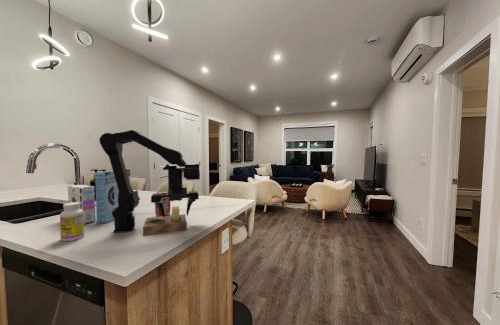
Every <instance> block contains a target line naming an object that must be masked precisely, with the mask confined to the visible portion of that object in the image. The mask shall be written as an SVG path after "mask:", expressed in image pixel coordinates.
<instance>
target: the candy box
mask: <svg viewBox="0 0 500 325" xmlns="http://www.w3.org/2000/svg"><path fill="white" fill-rule="evenodd" d="M67 194H68V203H73V202H79V203H80V207H79V209H81V210H83V218H84V225H86V224H91V223H94V222H97V218H96V185H95V186H93V185H86V184H74V185H68V186H67Z"/></svg>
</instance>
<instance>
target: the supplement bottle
mask: <svg viewBox="0 0 500 325" xmlns="http://www.w3.org/2000/svg"><path fill="white" fill-rule="evenodd" d="M62 207H63V211H61V213H60V214H59V221H60V222H59V227H60V229H59V231H60V240H61V241H63V242H72V241H76V240H79V239H81V238H83V237H84V235H85V227H84V226H85V224H84V218H83V210H81V209H79V207H80V203H79V202H73V203H69V202H67V203H63V205H62Z"/></svg>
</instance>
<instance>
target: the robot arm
mask: <svg viewBox="0 0 500 325" xmlns="http://www.w3.org/2000/svg"><path fill="white" fill-rule="evenodd" d="M131 142H135V143H137V144H139V145H140V146H142V147H145V149H148V150H150V151H152V152H154V153H156V154H158V155H159V156H160V157H161V158H162V159H163V160H165V161H166V162H168V163H169V164H168V163H166V164H165V166H164V167H163V168H162V170H163V171H167V179H168V181H167V182H168V183H167V184H168V185H167V186H168V190H167V191H168V195H162V193H156V192H155V193H153V194H152V195H151V196H150V203H151V204H152V203H154V205H155V204H157V205H158V206H159V207H160V209H161V212H162V214H163V217H164V218H165V211H164V204H163V200H164V199H169V200H170V202H174V201H178V202H179V201H182V200H183V199H187V201H186V202H187V203H186V217H187V216H189V212H190V209H191V207H192V204H193V203H194V202H196V200H199V199H200V198H199V197H200V196H199V193H198V191H196V190H193V191H191V190H190V191H188V187H183V178H184V179H185V180H186V181H195V180H198V181H199V180H201V171H200V164H199V163H195V164H187V162H186V161H185V160H184V159H183V158H184V157H183V154H182V152H180V151H178V150H176V149H172V148H170V147H166V146H164V145H162V144H160V143H158V142H156V141H154V140H152V139H151V138H149V137H147V136H145V135H143V134H142V133H139V132H138V131H136V130H134V129H130V130H126V131H120V132H114V133H109V132H106V133H103V134H101V135H100V137H99V143H100V145H101V148H102V150H103V151H104V152H105V154H106V155H107V156H108V158H109V163H110V166H111V169H112V171H113V173H114V176H115V180H116V183H117V187H118V190H119V193H118V207H117V208H116V209H115V210H114V211H113V212H112V215H113V217H114V218H115V219H114V230H113V233H121V232H130V231H133V229H134V228H135V226H136V216H134V211H135V209H136V208H137V207H138V206H139V204H140V201H141V198H140V196H139V191H138V190H134V189H133V188H132V186H131V185H132V184H131V181H130V182H129V178H128V175H127V171H126V170H127V169H126V164H125V161H124V158H123V149H124V148H123V145H124V144H128V143H131ZM130 184H131V185H130Z"/></svg>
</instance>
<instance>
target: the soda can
mask: <svg viewBox="0 0 500 325" xmlns="http://www.w3.org/2000/svg"><path fill="white" fill-rule="evenodd" d="M156 193H162V195H168V190H159V191H157V192H155V194H156ZM163 204H164V211H165V216H170V214H171V201H170V200H169V199H164V200H163ZM154 210H155V211H154V212H155V217H161V216H163V214H162V212H161V209H160V207H159V206H158V205H157V204H155V203H154Z"/></svg>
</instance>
